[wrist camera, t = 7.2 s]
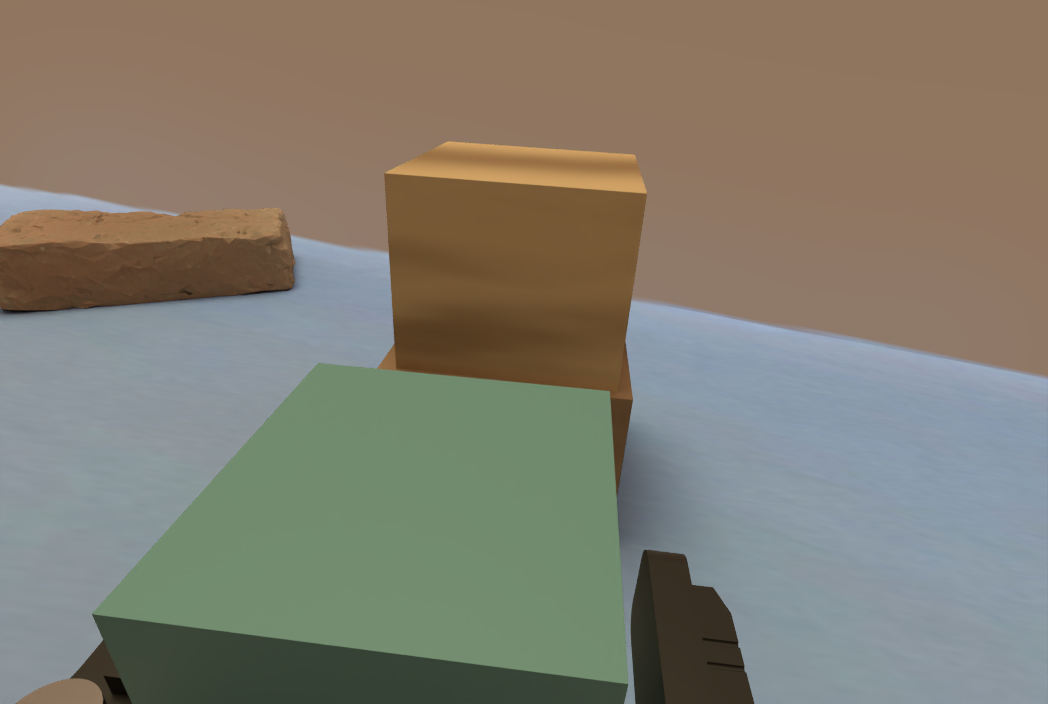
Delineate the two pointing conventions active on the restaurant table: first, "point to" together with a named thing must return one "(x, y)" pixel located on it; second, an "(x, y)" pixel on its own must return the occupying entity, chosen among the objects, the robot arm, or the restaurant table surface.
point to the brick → (140, 257)
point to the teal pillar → (390, 554)
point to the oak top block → (514, 262)
